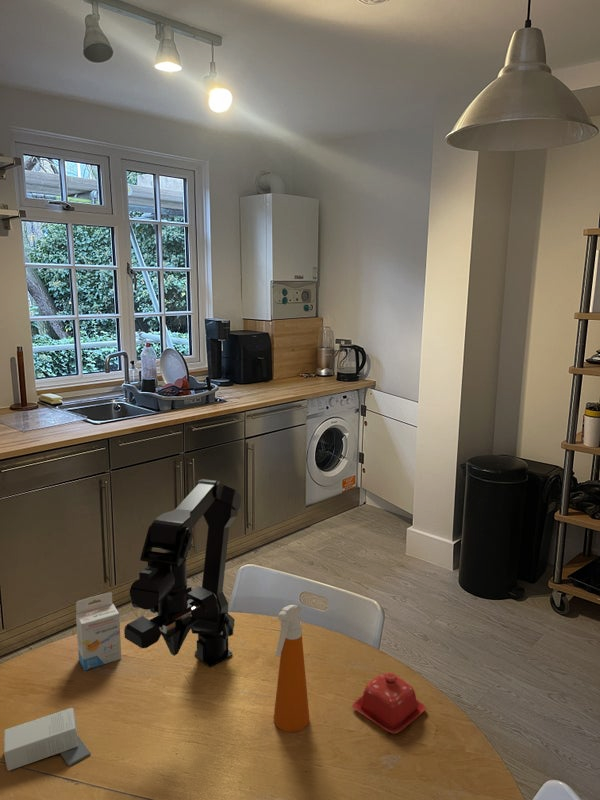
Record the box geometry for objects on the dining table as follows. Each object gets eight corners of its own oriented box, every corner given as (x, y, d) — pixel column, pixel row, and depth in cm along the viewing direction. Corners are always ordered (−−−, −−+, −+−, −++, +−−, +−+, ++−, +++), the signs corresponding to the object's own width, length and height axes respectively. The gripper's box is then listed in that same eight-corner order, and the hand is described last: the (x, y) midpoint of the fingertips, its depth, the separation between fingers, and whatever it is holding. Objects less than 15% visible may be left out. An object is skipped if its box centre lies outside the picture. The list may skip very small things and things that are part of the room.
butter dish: (383, 684, 129) (385, 649, 128) (428, 712, 121) (431, 675, 119) (348, 710, 121) (349, 673, 120) (394, 742, 113) (396, 703, 112)
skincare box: (76, 724, 116) (8, 748, 111) (73, 705, 114) (3, 728, 110) (79, 747, 110) (7, 773, 106) (75, 727, 109) (2, 753, 104)
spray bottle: (259, 740, 113) (259, 614, 108) (282, 703, 123) (282, 586, 118) (294, 751, 111) (295, 623, 105) (314, 712, 120) (316, 593, 115)
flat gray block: (74, 733, 114) (74, 731, 114) (90, 754, 109) (90, 752, 109) (53, 744, 112) (53, 742, 112) (68, 766, 107) (68, 764, 107)
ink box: (84, 672, 132) (79, 611, 129) (78, 660, 136) (74, 601, 133) (122, 659, 136) (119, 600, 133) (115, 647, 141) (112, 590, 137)
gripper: (181, 552, 126) (183, 618, 130) (104, 587, 112) (109, 661, 115) (218, 568, 120) (219, 638, 123) (141, 607, 105) (145, 685, 109)
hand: (174, 654), depth 118 cm, fingers closed
